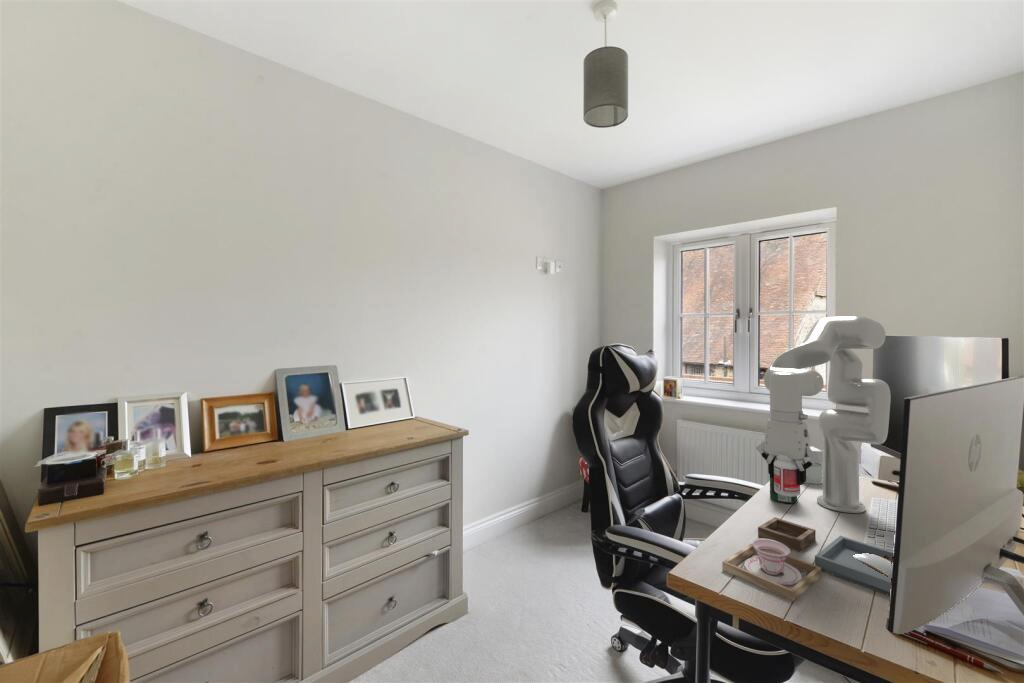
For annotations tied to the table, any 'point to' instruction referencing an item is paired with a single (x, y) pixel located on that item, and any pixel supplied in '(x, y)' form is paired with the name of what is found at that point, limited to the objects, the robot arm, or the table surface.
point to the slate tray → (854, 563)
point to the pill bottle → (786, 476)
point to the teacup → (772, 562)
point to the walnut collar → (797, 544)
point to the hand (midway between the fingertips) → (786, 479)
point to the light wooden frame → (767, 584)
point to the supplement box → (815, 468)
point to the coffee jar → (777, 496)
